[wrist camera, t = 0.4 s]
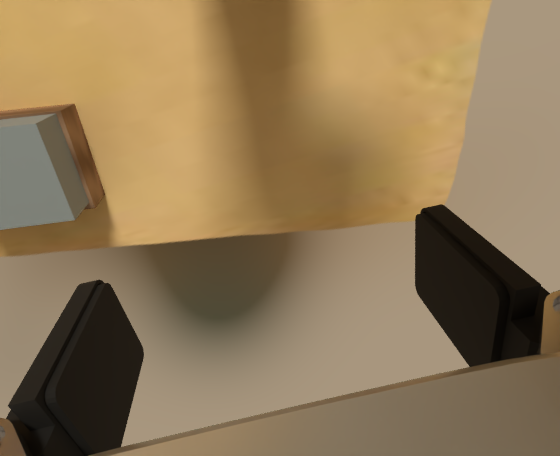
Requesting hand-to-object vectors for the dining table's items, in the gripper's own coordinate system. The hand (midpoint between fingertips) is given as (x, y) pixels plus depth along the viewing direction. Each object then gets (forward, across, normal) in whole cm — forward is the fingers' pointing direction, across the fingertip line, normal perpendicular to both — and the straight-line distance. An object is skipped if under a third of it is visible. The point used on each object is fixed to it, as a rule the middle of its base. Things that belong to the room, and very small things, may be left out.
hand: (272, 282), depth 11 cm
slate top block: (+32, +26, +2) cm, 41 cm away
